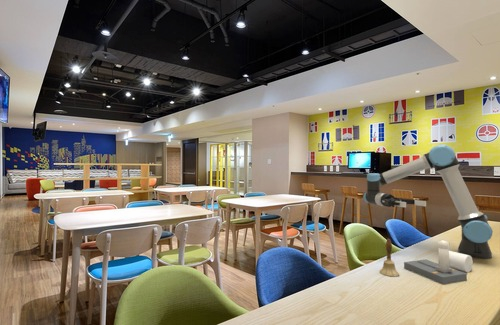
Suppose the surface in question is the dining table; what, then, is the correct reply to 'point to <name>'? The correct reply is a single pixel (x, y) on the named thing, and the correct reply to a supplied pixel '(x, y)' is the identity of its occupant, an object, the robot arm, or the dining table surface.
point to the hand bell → (389, 262)
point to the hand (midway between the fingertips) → (415, 204)
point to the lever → (443, 257)
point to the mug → (460, 261)
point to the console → (434, 272)
